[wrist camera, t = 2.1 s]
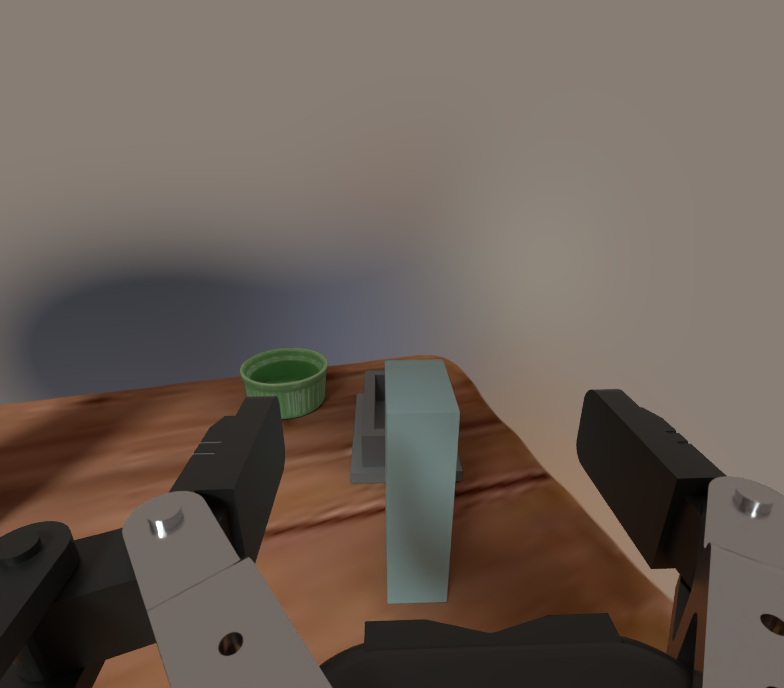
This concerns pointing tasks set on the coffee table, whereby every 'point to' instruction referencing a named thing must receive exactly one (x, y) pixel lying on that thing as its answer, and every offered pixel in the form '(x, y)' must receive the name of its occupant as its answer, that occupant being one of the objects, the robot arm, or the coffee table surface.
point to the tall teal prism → (419, 478)
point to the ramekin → (287, 379)
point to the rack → (373, 433)
